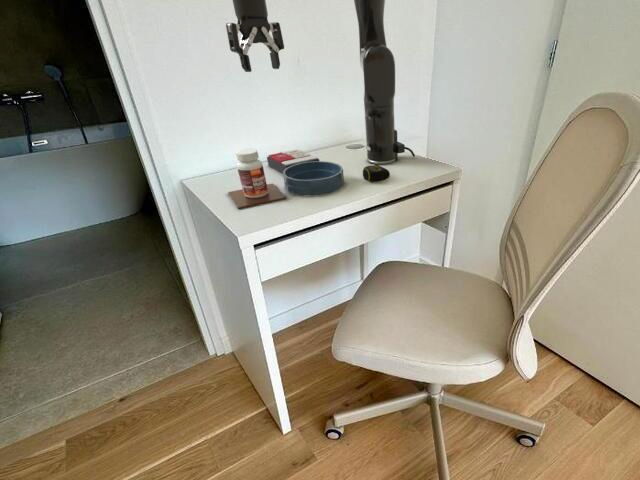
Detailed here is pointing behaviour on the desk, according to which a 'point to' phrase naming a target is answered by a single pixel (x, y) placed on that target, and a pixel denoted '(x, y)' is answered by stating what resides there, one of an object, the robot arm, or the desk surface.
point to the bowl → (313, 178)
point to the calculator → (289, 159)
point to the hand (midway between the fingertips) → (262, 70)
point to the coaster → (247, 202)
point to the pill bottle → (251, 173)
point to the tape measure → (375, 173)
